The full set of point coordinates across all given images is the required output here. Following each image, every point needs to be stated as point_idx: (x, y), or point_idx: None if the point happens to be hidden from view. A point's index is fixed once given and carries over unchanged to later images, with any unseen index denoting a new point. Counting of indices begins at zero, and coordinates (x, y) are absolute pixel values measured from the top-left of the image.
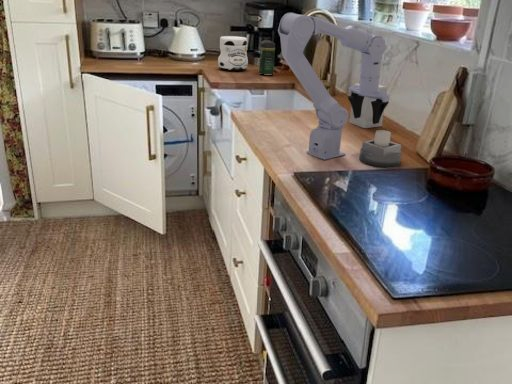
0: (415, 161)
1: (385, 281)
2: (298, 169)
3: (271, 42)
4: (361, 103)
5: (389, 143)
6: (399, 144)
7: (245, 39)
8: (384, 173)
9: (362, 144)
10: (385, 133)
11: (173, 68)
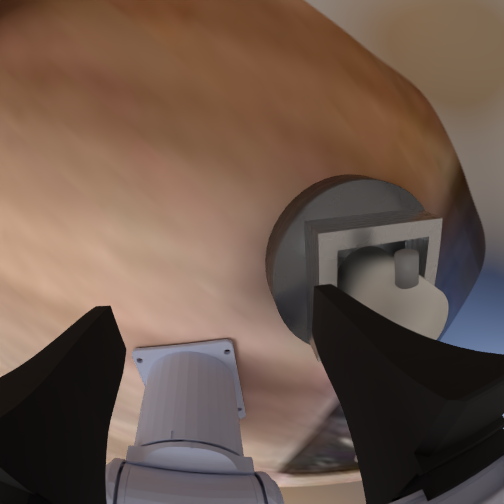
0: (415, 125)
1: None
2: (268, 465)
3: None
4: (54, 391)
5: (391, 239)
6: (435, 221)
7: None
8: None
9: (314, 353)
10: (431, 330)
11: None
